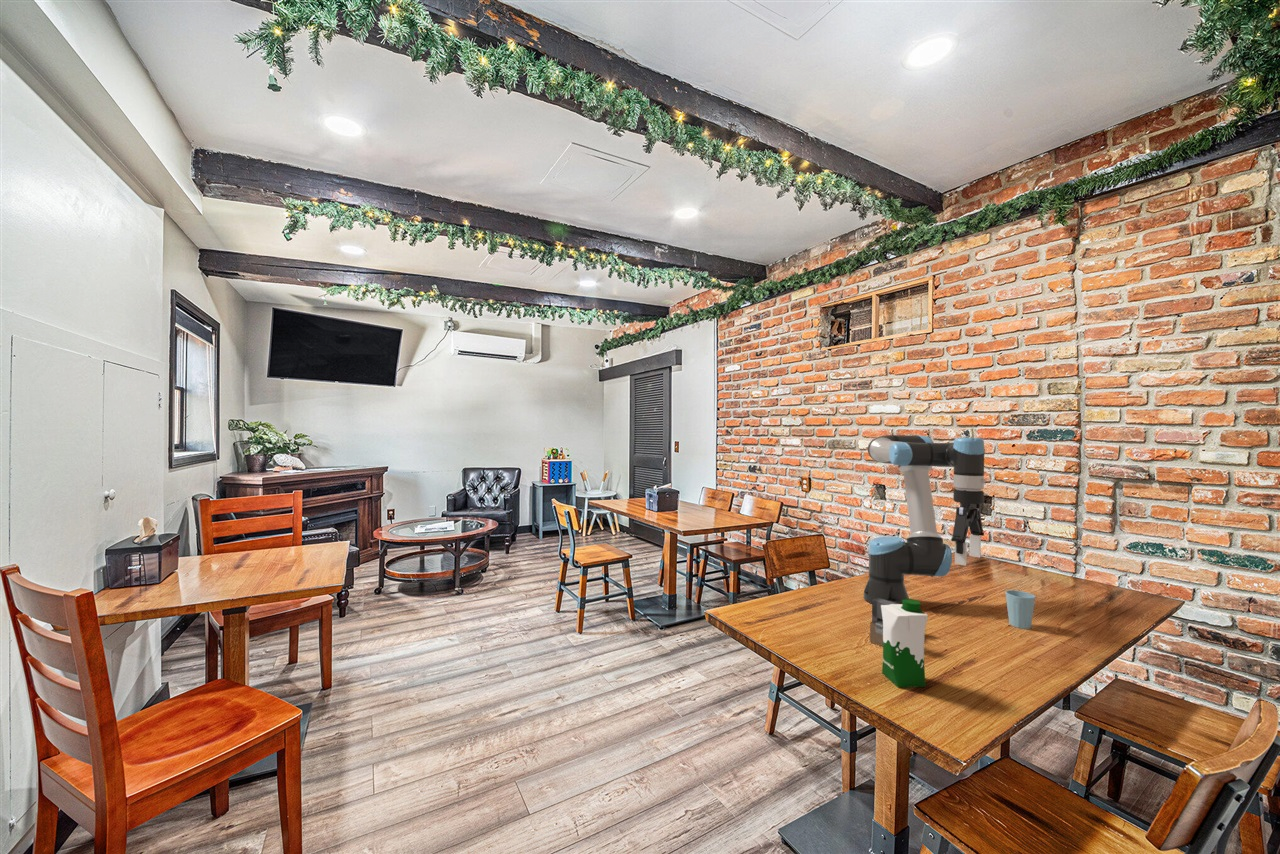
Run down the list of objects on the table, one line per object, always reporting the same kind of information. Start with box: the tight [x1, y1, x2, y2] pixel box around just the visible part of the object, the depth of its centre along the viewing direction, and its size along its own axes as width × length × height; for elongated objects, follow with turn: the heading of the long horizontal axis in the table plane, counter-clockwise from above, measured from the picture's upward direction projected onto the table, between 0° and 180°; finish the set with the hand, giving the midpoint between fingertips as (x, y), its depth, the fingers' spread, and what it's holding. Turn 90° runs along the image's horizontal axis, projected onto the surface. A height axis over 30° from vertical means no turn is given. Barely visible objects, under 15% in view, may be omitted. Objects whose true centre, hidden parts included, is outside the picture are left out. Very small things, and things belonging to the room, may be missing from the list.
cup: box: [1005, 589, 1036, 630], centre depth 157 cm, size 8×8×10 cm
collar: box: [871, 598, 898, 622], centre depth 144 cm, size 4×7×11 cm, turn 37°
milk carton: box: [881, 598, 929, 689], centre depth 122 cm, size 9×9×20 cm
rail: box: [869, 620, 883, 648], centre depth 147 cm, size 18×10×7 cm, turn 127°
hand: (967, 560), depth 143 cm, fingers open, 13 cm apart
